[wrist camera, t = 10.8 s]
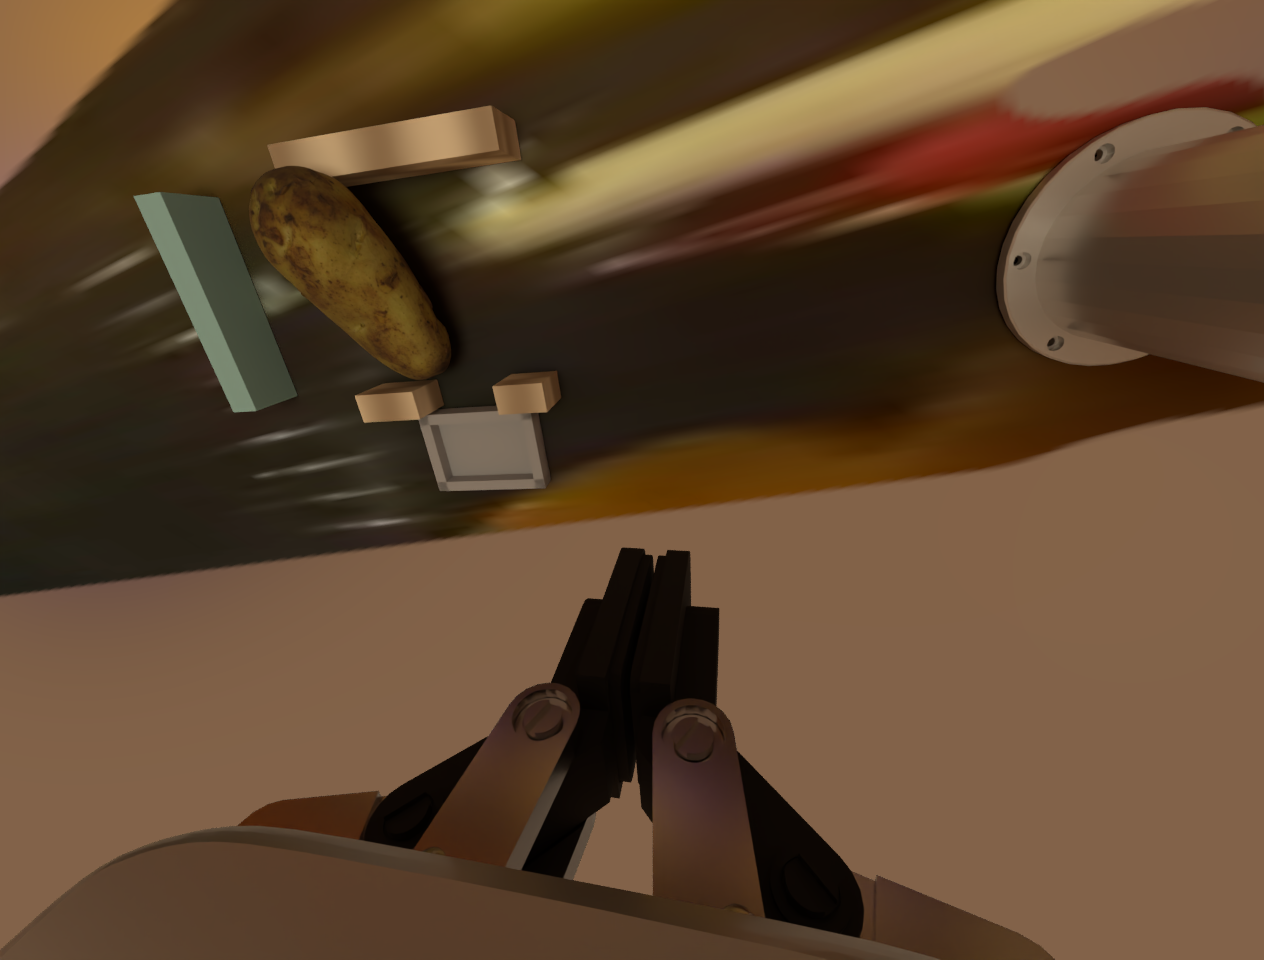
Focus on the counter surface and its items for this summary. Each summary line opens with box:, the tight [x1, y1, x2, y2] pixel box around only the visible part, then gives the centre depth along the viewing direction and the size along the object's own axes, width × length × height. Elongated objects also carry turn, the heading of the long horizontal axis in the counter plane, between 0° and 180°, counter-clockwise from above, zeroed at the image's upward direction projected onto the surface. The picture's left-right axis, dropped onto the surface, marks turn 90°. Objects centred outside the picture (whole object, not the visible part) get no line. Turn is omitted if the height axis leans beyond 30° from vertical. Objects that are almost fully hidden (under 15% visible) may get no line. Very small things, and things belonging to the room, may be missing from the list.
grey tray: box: [418, 406, 551, 491], centre depth 38 cm, size 9×6×2 cm
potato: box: [249, 166, 451, 380], centre depth 31 cm, size 8×13×8 cm, turn 7°
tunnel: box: [267, 106, 561, 422], centre depth 32 cm, size 14×17×4 cm
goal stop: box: [134, 192, 298, 412], centre depth 35 cm, size 2×14×4 cm, turn 6°
